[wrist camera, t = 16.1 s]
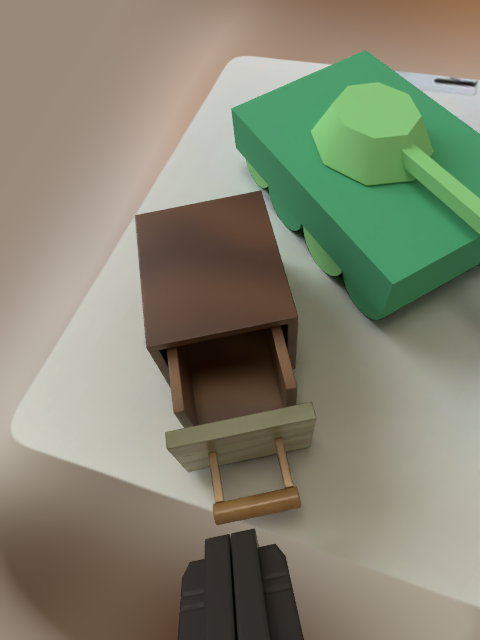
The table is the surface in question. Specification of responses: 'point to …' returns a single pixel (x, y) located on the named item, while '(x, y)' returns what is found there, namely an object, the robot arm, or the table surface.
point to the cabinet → (211, 275)
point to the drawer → (238, 413)
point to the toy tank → (368, 179)
